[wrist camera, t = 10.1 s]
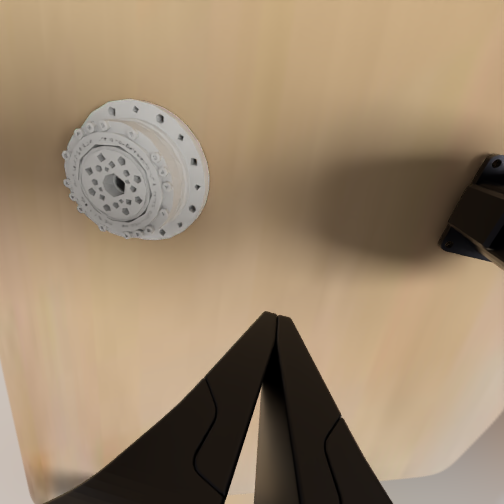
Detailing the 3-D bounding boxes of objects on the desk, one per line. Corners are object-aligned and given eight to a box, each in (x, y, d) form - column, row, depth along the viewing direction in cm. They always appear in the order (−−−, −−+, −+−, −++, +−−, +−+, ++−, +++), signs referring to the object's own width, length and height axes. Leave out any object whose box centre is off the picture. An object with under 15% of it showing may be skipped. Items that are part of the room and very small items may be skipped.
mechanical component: (183, 80, 18) (65, 123, 20) (150, 68, 14) (8, 123, 16) (227, 221, 22) (123, 243, 24) (210, 242, 18) (88, 266, 20)
